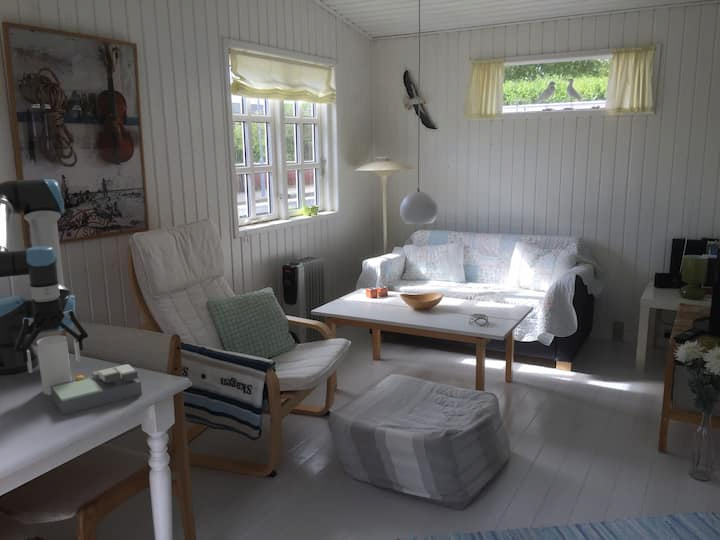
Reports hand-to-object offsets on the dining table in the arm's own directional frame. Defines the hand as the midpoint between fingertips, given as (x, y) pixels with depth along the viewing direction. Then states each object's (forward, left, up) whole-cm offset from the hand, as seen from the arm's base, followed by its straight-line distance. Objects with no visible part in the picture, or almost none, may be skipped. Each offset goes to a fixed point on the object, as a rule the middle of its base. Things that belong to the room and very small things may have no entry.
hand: (55, 366), depth 192 cm
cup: (0, 0, -8) cm, 8 cm away
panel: (+13, +8, -8) cm, 17 cm away
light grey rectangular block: (+11, +12, -2) cm, 16 cm away
